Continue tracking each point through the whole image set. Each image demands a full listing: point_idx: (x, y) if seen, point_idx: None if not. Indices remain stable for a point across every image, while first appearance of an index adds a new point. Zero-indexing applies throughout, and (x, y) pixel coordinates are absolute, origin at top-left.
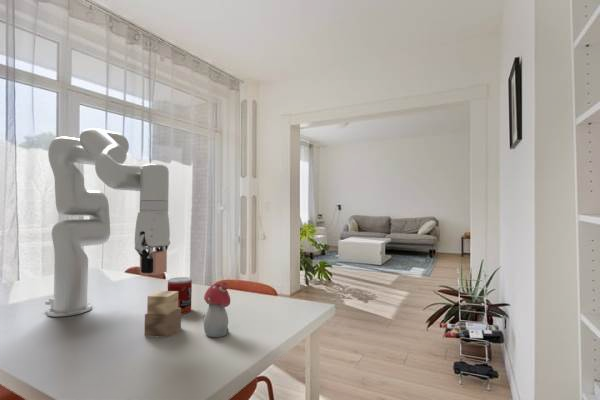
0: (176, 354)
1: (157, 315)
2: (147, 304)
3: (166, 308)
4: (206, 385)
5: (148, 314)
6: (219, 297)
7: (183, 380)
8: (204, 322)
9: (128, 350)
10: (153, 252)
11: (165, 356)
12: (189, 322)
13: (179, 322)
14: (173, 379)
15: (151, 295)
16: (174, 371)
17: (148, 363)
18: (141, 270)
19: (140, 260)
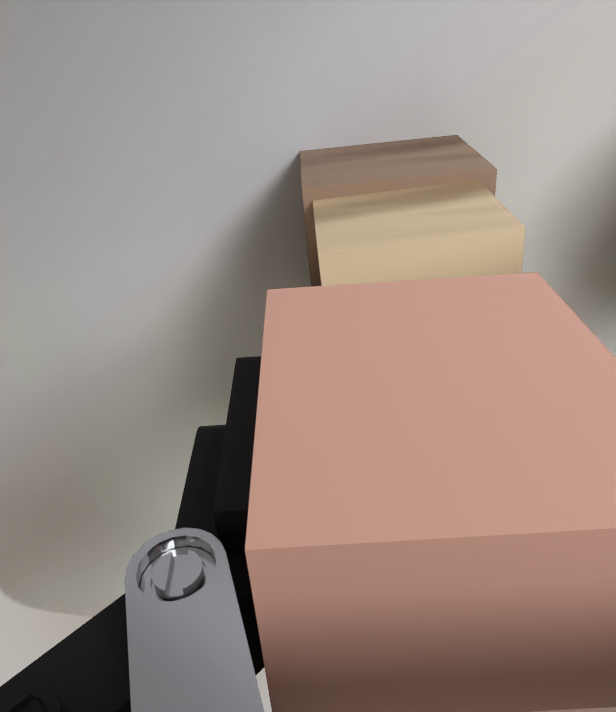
0: (165, 427)
1: (311, 283)
2: (315, 225)
3: None
4: (40, 585)
5: (305, 217)
6: None
7: (28, 531)
8: None
9: (110, 210)
10: (400, 710)
11: (133, 401)
12: (544, 277)
13: None
14: (17, 506)
15: (343, 272)
16: (57, 485)
17: (57, 379)
18: (234, 373)
19: (260, 426)
